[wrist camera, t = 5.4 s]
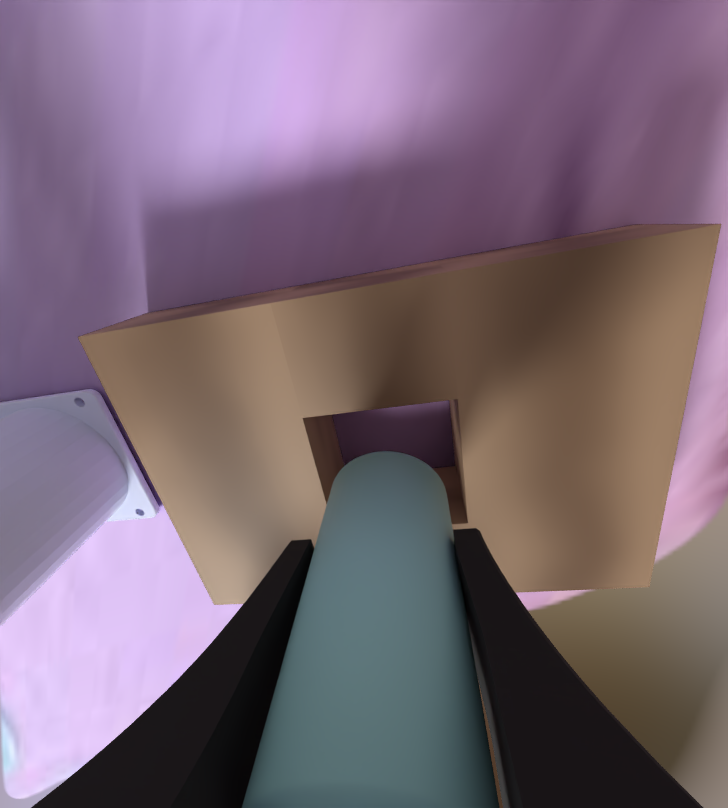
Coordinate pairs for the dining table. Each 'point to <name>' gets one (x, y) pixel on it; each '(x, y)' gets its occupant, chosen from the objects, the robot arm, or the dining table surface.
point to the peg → (378, 658)
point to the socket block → (430, 400)
